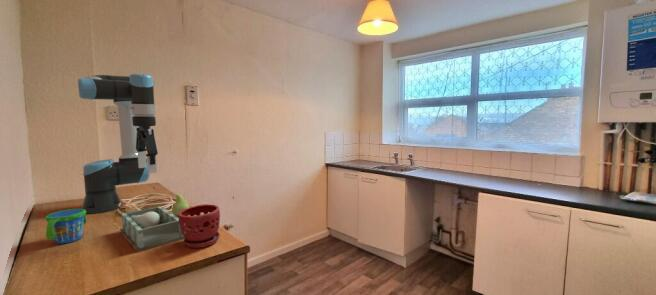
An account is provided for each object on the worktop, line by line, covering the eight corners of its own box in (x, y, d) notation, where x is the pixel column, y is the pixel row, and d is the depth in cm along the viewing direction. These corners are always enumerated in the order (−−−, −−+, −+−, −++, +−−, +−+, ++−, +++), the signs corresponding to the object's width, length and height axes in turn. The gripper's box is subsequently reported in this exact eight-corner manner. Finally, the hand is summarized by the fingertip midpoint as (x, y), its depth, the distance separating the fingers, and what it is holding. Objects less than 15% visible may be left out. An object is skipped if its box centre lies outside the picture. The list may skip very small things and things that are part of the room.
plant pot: (203, 232, 111) (202, 202, 109) (228, 239, 105) (227, 206, 103) (171, 246, 99) (169, 212, 98) (197, 254, 93) (195, 218, 92)
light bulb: (135, 208, 115) (164, 210, 116) (134, 224, 115) (163, 226, 116) (125, 212, 108) (155, 214, 109) (123, 229, 109) (153, 231, 109)
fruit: (191, 217, 128) (189, 190, 127) (172, 220, 124) (170, 193, 123) (188, 212, 134) (187, 187, 133) (170, 216, 130) (168, 189, 128)
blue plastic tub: (73, 231, 112) (70, 206, 111) (100, 231, 112) (98, 206, 111) (32, 250, 97) (29, 220, 96) (64, 249, 97) (61, 220, 96)
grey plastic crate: (120, 231, 112) (118, 214, 111) (163, 221, 123) (162, 205, 122) (137, 252, 94) (135, 231, 94) (185, 238, 105) (184, 219, 104)
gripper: (124, 115, 117) (128, 166, 120) (141, 116, 100) (145, 177, 102) (146, 115, 122) (149, 164, 125) (165, 116, 105) (168, 173, 108)
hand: (147, 170), depth 114 cm, fingers open, 13 cm apart
